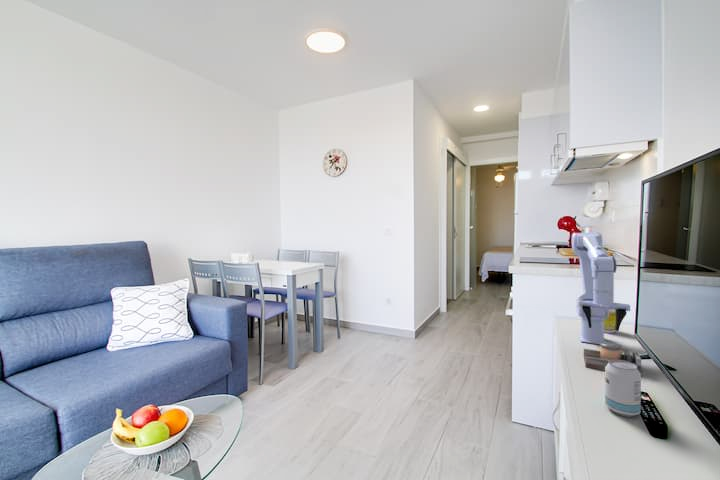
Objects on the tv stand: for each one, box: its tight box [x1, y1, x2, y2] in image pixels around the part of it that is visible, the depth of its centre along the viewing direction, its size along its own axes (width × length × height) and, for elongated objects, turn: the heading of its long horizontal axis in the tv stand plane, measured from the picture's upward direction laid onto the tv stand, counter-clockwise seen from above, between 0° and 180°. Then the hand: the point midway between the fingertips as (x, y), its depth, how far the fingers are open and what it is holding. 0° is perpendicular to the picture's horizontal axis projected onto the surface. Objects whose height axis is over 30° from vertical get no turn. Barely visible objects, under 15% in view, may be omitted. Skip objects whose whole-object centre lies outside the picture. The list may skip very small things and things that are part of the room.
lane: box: [583, 348, 643, 377], centre depth 106 cm, size 10×14×5 cm
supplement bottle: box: [604, 309, 617, 334], centre depth 139 cm, size 7×7×13 cm
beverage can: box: [604, 360, 642, 418], centre depth 81 cm, size 7×7×12 cm
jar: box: [599, 340, 623, 360], centre depth 106 cm, size 6×6×6 cm
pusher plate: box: [623, 348, 632, 363], centre depth 104 cm, size 6×1×4 cm, turn 149°
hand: (603, 328), depth 115 cm, fingers open, 7 cm apart
